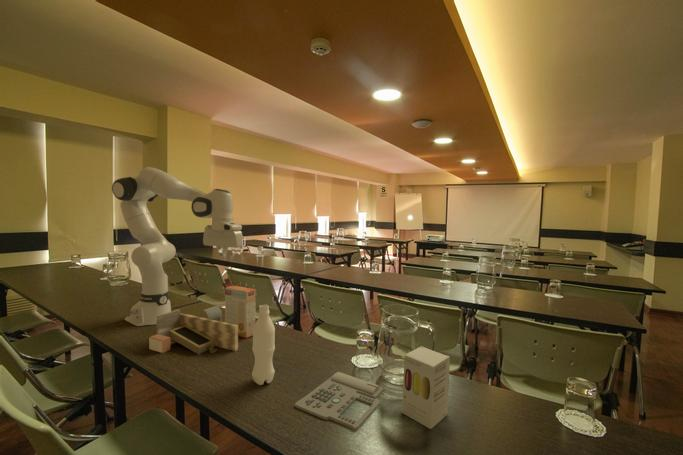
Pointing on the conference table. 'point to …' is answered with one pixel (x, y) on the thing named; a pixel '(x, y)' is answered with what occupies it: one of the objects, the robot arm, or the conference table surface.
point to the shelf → (199, 328)
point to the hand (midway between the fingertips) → (222, 256)
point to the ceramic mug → (212, 313)
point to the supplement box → (425, 386)
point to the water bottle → (263, 347)
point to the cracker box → (241, 309)
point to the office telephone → (340, 399)
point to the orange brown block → (159, 343)
